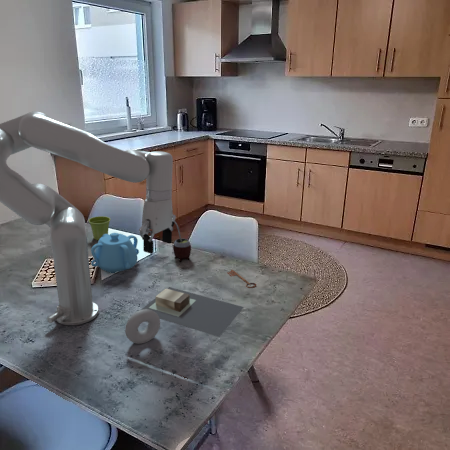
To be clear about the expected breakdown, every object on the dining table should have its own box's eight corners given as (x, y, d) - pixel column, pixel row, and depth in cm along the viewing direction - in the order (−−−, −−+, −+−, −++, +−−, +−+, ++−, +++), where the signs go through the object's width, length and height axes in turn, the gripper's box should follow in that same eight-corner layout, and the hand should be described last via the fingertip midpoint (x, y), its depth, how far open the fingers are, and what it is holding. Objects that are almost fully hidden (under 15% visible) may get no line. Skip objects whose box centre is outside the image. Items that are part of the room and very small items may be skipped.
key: (223, 274, 155) (244, 291, 143) (223, 272, 155) (244, 289, 142) (236, 270, 157) (257, 286, 145) (236, 268, 157) (257, 284, 145)
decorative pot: (86, 273, 151) (82, 239, 146) (105, 256, 165) (103, 224, 161) (128, 278, 148) (125, 244, 143) (144, 260, 163) (142, 228, 158)
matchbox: (165, 379, 100) (165, 377, 100) (179, 368, 104) (179, 367, 104) (178, 388, 97) (178, 386, 97) (193, 377, 101) (193, 375, 101)
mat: (219, 338, 116) (219, 336, 115) (138, 313, 127) (138, 311, 126) (243, 308, 131) (243, 306, 131) (169, 288, 142) (169, 286, 142)
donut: (157, 333, 117) (156, 302, 114) (162, 339, 115) (162, 308, 111) (124, 344, 112) (122, 312, 108) (129, 351, 109) (127, 319, 106)
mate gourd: (188, 263, 161) (188, 228, 156) (169, 261, 162) (168, 226, 157) (192, 255, 168) (192, 221, 163) (174, 254, 169) (173, 220, 164)
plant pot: (116, 237, 185) (115, 218, 182) (100, 243, 177) (98, 224, 175) (101, 232, 190) (100, 214, 187) (85, 238, 182) (83, 220, 179)
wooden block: (189, 302, 132) (189, 294, 131) (180, 311, 127) (179, 303, 126) (166, 296, 136) (165, 288, 135) (155, 304, 130) (155, 296, 129)
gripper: (165, 186, 130) (164, 236, 136) (130, 197, 115) (130, 253, 121) (185, 190, 127) (183, 241, 133) (151, 202, 112) (150, 259, 118)
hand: (157, 247), depth 127 cm, fingers open, 9 cm apart
